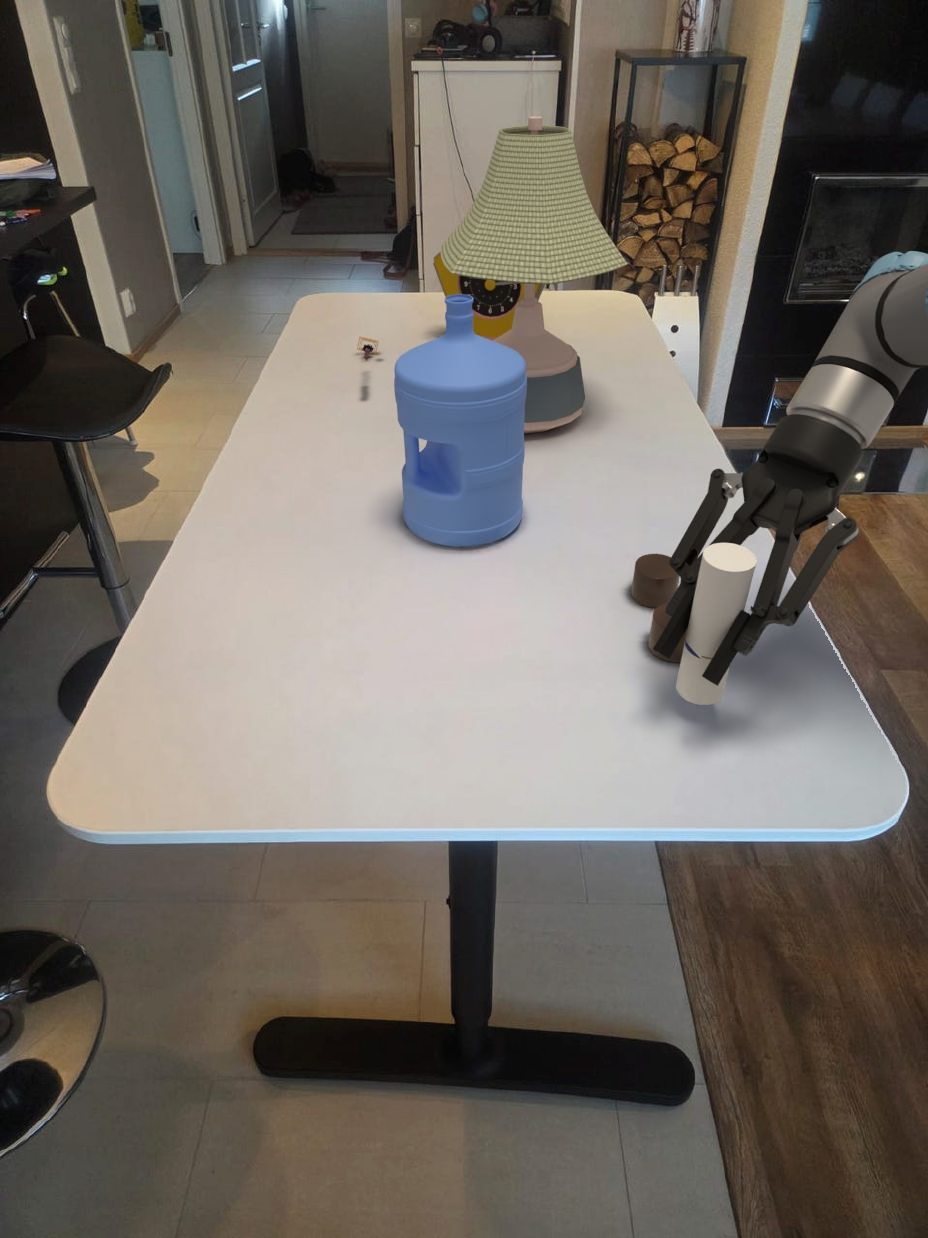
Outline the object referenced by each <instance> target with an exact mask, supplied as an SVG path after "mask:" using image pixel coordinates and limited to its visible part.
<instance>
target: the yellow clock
mask: <svg viewBox="0 0 928 1238" xmlns="http://www.w3.org/2000/svg"><path fill="white" fill-rule="evenodd" d="M432 264H433V267H434V271H435V272H436V275H437V278H438V282H439V284H440V286H441V289H442V291H443V294H444V298H446V297H447V296H450V295H456V294H464V295H469V296H472V297H473V303H472V312H473V314H474V318H473V331H474V333H475V334H476V335H478V336H481V337H483V338H486V339H489V340H491V341H493V340H494V339H496V338H498V337H499V336H501V335H503V334H504V333H506V332H508V331H509V330H511V329H512V324H513V319H514V313H515V307H516V304H517V303H518V302H521V298H523V297H524V284H522V283H512V282H502V281H493V280H485V279H477V278H471V277H465V276H459V275H454V274H452V273H451V272H450V271H449V270H448V269H447V268H446V267H445V265H444V263H443V261H442V258H441V250H440V251H439V252H437V254H436V255H434V256H433V263H432ZM545 285H546V284H535V298H537V302H540V298H541V296H542V294H543V291H544V289H545Z"/></svg>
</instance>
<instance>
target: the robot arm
mask: <svg viewBox="0 0 928 1238" xmlns="http://www.w3.org/2000/svg"><path fill="white" fill-rule="evenodd" d="M927 367H928V253H927V252H926V253H925V252H921V251H917V250H916V251H914V250H909V251H907V252H905V253H903V252H900V251H893V252H889V253H887V254H885V255H883V256H881V257H880V258H879V259H877V260H876V261H875V262H874V263H873V265H872V266H871V267H870V269H869V270H868V271H867V273H866V274H865V276H864V277H863V278H862V280H861V282H859V284H857V286H856V287H855V288H854V289H853V291H852V294H851V295H850V297H849V299H848V301H847V304H846V306H845V308H844V310H843V311H842V313H841V314H840V316H839V318H838V320H837V322H836V323H835V325H834V327H833V329H832V330H831V332H830V334H829V336H828V338H827V339H826V341H825V343H824V344H823V346H822V347H821V349H820V351H819V353H818V355H817V357H816V358H815V360H814V362H813V364H812V366H811V367H810V369H809V371H808V372H807V373H806V375H805V377H804V379H803V380H802V382H801V383H800V385H799V387H798V388H797V390H796V391H795V393H794V395H793V396H792V398H791V400H790V401H789V403H788V405H787V407H786V409H785V412H786V415H785V416H782V417H781V418H780V419H779V420H778V422H777V424H776V425H775V428H774V429H773V431H772V433H771V434H770V436H769V438H768V439H767V441H766V442H765V444H764V446H763V448H762V450H761V452H760V453H759V456H758V458H757V460H756V461H755V462H753V464H751V465H750V466H748V467H747V468H746V469H745V470H744V471H743V472H725V471H724V470H723V469H722V468H714V469H713V470H712V471H711V472H710V476H709V482H708V489H707V493H706V494H705V496H704V497H703V500H702V501H701V504H700V505H699V507H698V509H697V510H696V513H695V514H694V516H693V517H692V519H691V522H690V524H689V525H688V527H687V528H686V530H685V532H684V534H683V535H682V537H681V539H680V541H679V543H678V545H677V546H676V548H675V550H674V552H673V553H672V555H671V556H670V557H671V559H670V561H669V564H670V566H671V567H672V568H673V569H674V570H675V572H676V573H677V574H678V575H679V576H680V577H679V579H680V581H679V582H680V583H679V584H678V588H677V590H676V592H675V593H674V595H673V597H672V598H671V600H670V602H669V604H668V605H667V607H666V612H665V613H666V614H667V615H668V616H670V617H671V619H670V621H669V622H668V624H667V626H666V627H665V629H664V631H663V632H662V634H661V636H660V638H659V639H658V641H657V643H656V644H655V646H654V648H653V650H655V651H656V652H658V653H659V654H661V655H663V656H664V657H666V658H668V659H670V657H671V655H672V654H673V652H674V650H675V649H676V647H677V645H678V643H679V642H680V640H681V638H682V637H683V635H684V633H685V632H686V630H687V628H688V624H689V620H690V615H691V610H692V605H693V600H694V595H695V590H696V585H697V580H698V575H699V570H700V565H701V561H702V556H703V552H704V550H703V549H704V547H705V546H706V544H707V542H708V540H709V539H710V536H711V535H712V533H713V531H714V529H715V527H716V526H717V524H718V522H719V520H720V519H721V517H722V516H723V514H724V512H725V510H726V507H727V505H728V502H729V499H733V498H734V497H735V496H736V494H737V492H738V490H739V489H742V495H743V503H742V504H741V505H740V506H739V507H738V508H737V510H736V511H735V512H734V514H733V515H732V518H731V520H730V521H729V522H728V523H727V524H726V526H725V527H724V528H722V530H721V531H720V532H719V534H718V535H716V537H715V538H714V539H713V540H712V541H711V542H710V543H709V544H708V546H710V545H712V544H716V543H733V544H737V545H740V546H742V544H743V543H744V542H745V541H746V540H747V539H748V537H750V536H752V535H754V534H755V533H756V532H757V531H758V530H759V529H760V528H762V529H768V530H772V531H773V532H775V536H774V542H773V545H772V548H771V552H770V554H769V557H768V561H767V563H766V566H765V569H764V573H763V575H762V579H761V582H760V584H759V588H758V591H757V594H756V597H755V600H754V603H753V606H752V605H750V607H749V608H750V612H751V614H750V613H749V612H747V611H745V610H744V611H743V610H741V611H740V613H739V614H738V616H737V618H736V619H735V621H734V623H733V624H732V626H731V628H730V629H729V631H728V633H727V634H726V636H725V638H724V640H723V641H722V643H721V645H720V646H719V648H718V650H717V651H716V653H715V655H714V656H713V658H712V660H711V661H710V663H709V665H708V666H707V668H706V670H705V671H704V673H703V675H702V677H704V678H705V679H707V680H708V681H710V682H712V683H713V684H715V685H717V686H718V685H719V683H720V681H721V679H722V678H723V676H724V674H725V673H726V671H727V669H728V668H729V666H730V667H731V665H732V663H733V661H734V659H735V658H736V656H737V655H738V653H739V654H741V655H742V656H748V655H749V654H750V653H752V652H753V650H754V648H755V646H756V644H757V643H758V642H759V640H760V638H761V636H762V635H763V633H764V631H765V629H766V628H767V627H768V626H770V625H774V624H775V625H776V624H777V625H784V626H786V627H792V626H794V625H795V624H796V623H797V621H798V620H799V618H800V617H801V615H802V613H803V612H804V610H805V609H806V607H807V606H808V605H809V602H810V600H811V599H812V598H813V595H814V594H815V593H816V591H817V590H818V588H819V587H820V584H822V582H823V580H824V578H825V577H826V576H827V574H828V572H829V571H830V569H831V568H832V566H833V564H834V563H835V561H836V559H837V558H838V557H839V555H840V553H841V552H843V551H844V550H845V549H846V548H847V547H849V546H850V545H851V544H853V543H854V542H855V541H857V540H858V538H859V537H860V530H859V527H858V524H857V522H856V520H855V519H854V518H852V517H847V516H846V515H845V514H844V513H842V511H840V509H839V507H840V497H841V494H842V492H843V491H844V489H845V488H846V486H847V484H848V483H849V481H850V480H851V478H852V477H853V474H854V473H855V472H856V469H857V468H858V466H859V464H860V462H861V461H862V459H863V458H864V451H863V450H864V449H867V448H869V446H870V445H871V443H872V442H873V440H874V439H875V437H876V436H877V434H878V432H879V430H881V429H880V428H881V427H882V425H883V424H884V422H885V421H886V419H887V417H888V416H889V414H890V412H891V411H892V409H893V407H894V405H895V404H896V402H897V401H898V398H899V397H900V395H901V393H902V392H903V391H904V390H905V387H906V385H907V384H908V382H909V381H910V379H911V377H912V376H913V375H914V373H915V372H916V371H917V370H918V369H923V368H927ZM824 522H827V524H826V525H825V526H824V529H823V532H824V535H823V536H822V537H821V539H820V540H819V542H818V543H817V545H816V547H815V548H814V550H812V553H811V554H810V556H809V558H807V561H806V562H805V563H804V565H803V567H802V568H801V570H800V572H799V573H798V575H797V576H796V578H795V580H794V581H793V583H792V585H791V586H790V588H789V590H788V591H787V593H786V594H785V596H784V597H783V599H782V600H781V602H780V603H779V601H780V598H781V595H782V592H783V589H784V585H785V583H786V579H787V577H788V573H789V571H790V567H791V564H792V561H793V558H794V555H795V552H796V551H797V550H798V548H799V544H800V542H801V538H802V535H803V533H804V532H806V531H808V530H810V529H812V528H814V527H816V526H818V525H820V524H822V523H824ZM778 604H779V605H778ZM729 669H730V668H729Z"/></svg>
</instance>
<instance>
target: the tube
mask: <svg viewBox="0 0 928 1238" xmlns="http://www.w3.org/2000/svg"><path fill="white" fill-rule="evenodd" d="M709 545H710V544H709ZM709 545H707V547H705V548H704V550H703V551H704V552H703V551H702V552H703V556H702V561H701V565H700V570H699V575H698V580H697V585H696V590H695V595H694V600H693V605H692V610H691V615H690V620H689V624H688V629H687V634H686V640H685V644H684V649H683V654H682V659H681V662H680V664H679V669H678V674H677V678H676V683H675V688H676V692H677V693H678V695H679V696H680V697H681V698H683V699H684V700H685V701H687V702H689V703H692V704H694V705H700V706H707V705H713V704H716V703H717V702H719V701H720V700H721V699H722V697H723V695H724V691H725V687H726V682H727V679H728V675H729V671H730V668H731V665H730V666H729V668H728V669H727V671H726V673H725V674H724V676H723V678H722V679H721V681H720V683H719V685H718V686H717V685H715V684H713V683H712V682H710V681H708V680H707V679H705V678H704V677H702V675H703V673H704V671H705V670H706V668H707V666H708V665H709V663H710V661H711V660H712V658H713V656H714V655H715V653H716V651H717V650H718V648H719V646H720V645H721V643H722V641H723V640H724V638H725V636H726V634H727V633H728V631H729V629H730V628H731V626H732V624H733V623H734V621H735V619H736V618H737V616H738V614H739V613H740V611H741V610H743V611H745V609H746V606H747V605H746V604H747V601H748V598H749V593H750V589H751V586H752V583H753V578H754V573H755V571H756V567H757V566H756V565H757V560H758V559H757V557H756V554H755V553H754V552H752V551H751V550H750V549H748V548H747V547H746V546H744V545H743V546H742V545H737V544H733V543H716V544H712V545H710V546H709Z"/></svg>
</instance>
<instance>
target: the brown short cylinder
mask: <svg viewBox="0 0 928 1238" xmlns="http://www.w3.org/2000/svg"><path fill="white" fill-rule="evenodd" d="M671 557H672V556H670V555H666V554H662V553H647V554H644V555H641V556H639V557H638V558H637V559H636V560H635V563H634V569H633V577H632V583H631V591H630V594H631V598H632V599H633V600H634V601H635V602H636V603H638V604H639V605H641V606H644V607H647V608H653V609H656V608H657V607H658V606H660V605H662V604H666V603H669V602H670V600H671V598H672V597H673V595H674V593H675V592H676V590H677V588H678V587H679V584H680V583H679V582H680V576H679V575H678V574H677V573H676V572H675V570H674V569H673V568H672V567H671V566H670V564H669V561H670V559H671Z"/></svg>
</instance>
